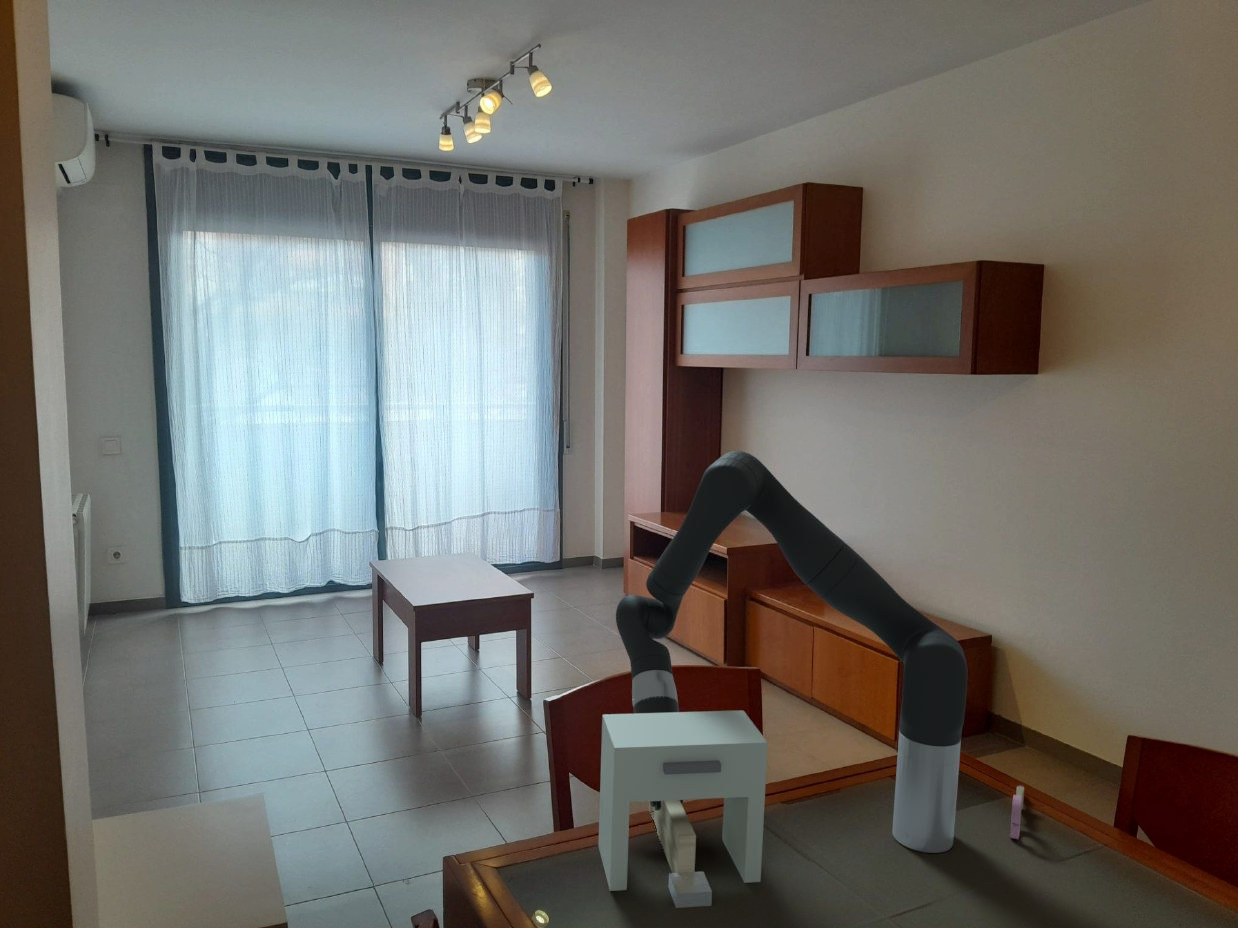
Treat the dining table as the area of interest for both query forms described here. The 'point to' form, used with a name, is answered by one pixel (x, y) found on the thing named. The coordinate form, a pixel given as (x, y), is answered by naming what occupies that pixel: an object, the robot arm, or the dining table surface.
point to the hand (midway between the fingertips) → (667, 807)
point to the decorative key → (1016, 812)
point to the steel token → (690, 889)
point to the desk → (683, 779)
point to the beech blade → (675, 835)
